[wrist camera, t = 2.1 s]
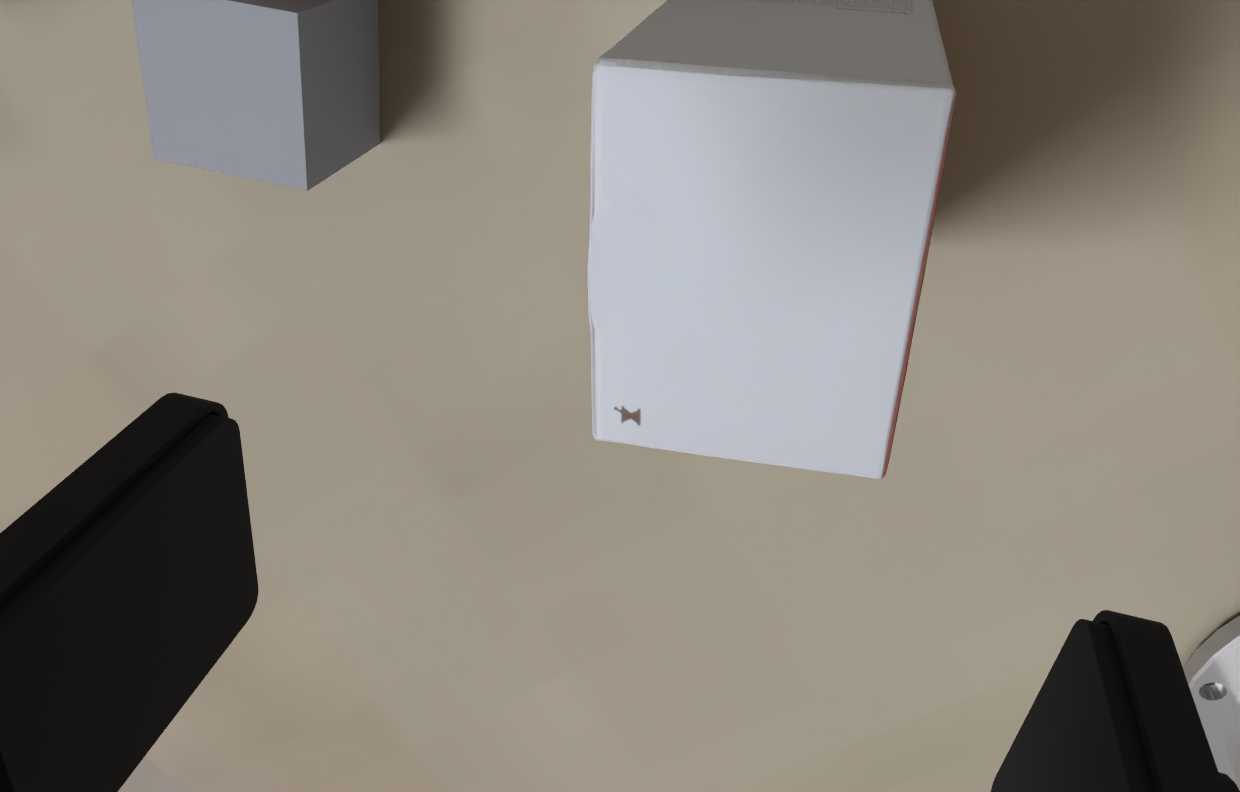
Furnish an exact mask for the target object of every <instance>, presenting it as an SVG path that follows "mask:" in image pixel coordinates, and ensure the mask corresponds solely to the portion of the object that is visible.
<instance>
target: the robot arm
mask: <svg viewBox="0 0 1240 792" xmlns="http://www.w3.org/2000/svg"><path fill="white" fill-rule="evenodd" d="M257 597H258V581H257V573H256V565H255V556H254V548H253V539H252V531H251V523H250V514H249V506H248V498H247V489H246V481H245V473H244V464H243V456H242V447H241V439H240V431H239V427H238V424H237V423H236V421H235V420H233V419H230V418H228V414H227V411H226V409H225V408H224V406H223V405H221V404H219V403H217V402H213V401H208V400H204V399H200V398H195V397H191V396H187V395H183V394H178V393H169V394H166V395H165V396H163V397H161V398H160V399H159V400H158V401H157V402H155V403H154V404H153V405H152V406H151V407H149V408H148V409H147V410H146V411H145V412H143V413H142V414H141V415H140V416H139V417H138V418H136V419H135V420H134V421H133V422H132V423H130V424H129V425H128V426H127V427H126V428H125V429H123V430H122V431H121V432H120V433H119V434H117V435H116V436H115V437H114V438H113V439H112V440H110V441H109V442H108V443H107V444H106V445H104V446H103V447H102V448H101V449H100V450H98V451H97V452H96V453H95V454H94V455H93V456H91V457H90V458H89V459H88V460H87V461H85V462H84V463H83V464H82V465H81V466H80V467H78V468H77V469H76V470H75V471H74V472H72V473H71V474H70V475H69V476H68V477H66V478H65V479H64V480H63V481H62V482H61V483H59V484H58V485H57V486H56V487H55V488H53V489H52V490H51V491H50V492H49V493H48V494H46V495H45V496H44V497H43V498H42V499H40V500H39V501H38V502H37V503H36V504H35V505H33V506H32V507H31V508H30V509H29V510H27V511H26V512H25V513H24V514H23V515H21V516H20V517H19V518H18V519H17V520H16V521H14V522H13V523H12V524H11V525H10V526H8V527H7V528H6V529H5V530H4V531H3V532H1V533H0V792H118V790H119V789H120V788H121V786H122V785H123V784H124V783H125V781H126V780H127V778H128V777H129V776H130V775H131V773H132V772H133V771H134V769H135V768H136V767H137V765H138V764H139V763H140V762H141V760H142V759H143V758H144V756H145V755H146V754H147V752H148V751H149V750H150V748H151V747H152V746H153V744H154V743H155V742H156V741H157V739H158V738H159V737H160V735H161V734H162V733H163V731H164V730H165V729H166V727H167V726H168V725H169V723H170V722H171V721H172V720H173V718H174V717H175V716H176V714H177V713H178V712H179V710H180V709H181V708H182V706H183V705H184V704H185V702H186V701H187V700H188V699H189V697H190V696H191V695H192V693H193V692H194V691H195V689H196V688H197V687H198V685H199V684H200V683H201V681H202V680H203V679H204V678H205V676H206V675H207V674H208V672H209V671H210V670H211V668H212V667H213V666H214V664H215V663H216V662H217V660H218V659H219V658H220V657H221V655H222V654H223V653H224V651H225V650H226V649H227V647H228V646H229V645H230V643H231V642H232V641H233V639H234V638H235V637H236V636H237V634H238V633H239V632H240V630H241V629H242V628H243V626H244V625H245V624H246V622H247V621H248V619H249V618H250V616H251V615H252V612H253V610H254V608H255V605H256V602H257ZM991 792H1240V616H1238V617H1236V618H1235V619H1233V620H1232V621H1230V622H1229V623H1227V624H1226V625H1224V626H1222V627H1221V628H1219V629H1218V630H1217V631H1216V632H1215V633H1214V634H1213V635H1212V636H1210V637H1209V638H1208V639H1207V640H1206V641H1205V642H1204V643H1203V644H1202V645H1201V646H1200V647H1199V648H1198V649H1197V650H1195V652H1194V653H1193V655H1192V656H1191V658H1190V659H1189V661H1188V662H1187V663H1186V665H1185V666H1184V668H1182V665H1181V662H1180V659H1179V656H1178V653H1177V650H1176V647H1175V644H1174V642H1173V639H1172V636H1171V634H1170V632H1169V630H1168V628H1167V627H1166V626H1165V625H1164V624H1162V623H1160V622H1155V621H1151V620H1147V619H1143V618H1138V617H1134V616H1130V615H1125V614H1121V613H1117V612H1113V611H1108V610H1104V611H1101V612H1100V613H1098V614H1097V615H1096V617H1095V618H1094V620H1093V621H1089V620H1085V619H1080V620H1078V621H1077V622H1076V623H1075V625H1074V626H1073V628H1072V630H1071V631H1070V633H1069V635H1068V637H1067V639H1066V641H1065V643H1064V645H1063V647H1062V649H1061V651H1060V653H1059V655H1058V657H1057V659H1056V661H1055V662H1054V664H1053V666H1052V668H1051V670H1050V672H1049V674H1048V676H1047V678H1046V680H1045V682H1044V684H1043V686H1042V688H1041V690H1040V692H1039V694H1038V695H1037V697H1036V699H1035V701H1034V703H1033V705H1032V707H1031V709H1030V711H1029V713H1028V715H1027V717H1026V719H1025V721H1024V723H1023V725H1022V726H1021V728H1020V730H1019V732H1018V734H1017V736H1016V738H1015V740H1014V742H1013V744H1012V746H1011V748H1010V750H1009V752H1008V754H1007V756H1006V758H1005V759H1004V761H1003V763H1002V765H1001V767H1000V769H999V771H998V773H997V775H996V777H995V779H994V782H993V785H992V789H991Z"/></svg>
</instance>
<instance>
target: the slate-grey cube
mask: <svg viewBox="0 0 1240 792" xmlns="http://www.w3.org/2000/svg"><path fill="white" fill-rule="evenodd" d="M132 5H133V13H134V20H135V27H136V34H137V41H138V48H139V55H140V62H141V69H142V77H143V84H144V91H145V98H146V105H147V112H148V119H149V126H150V133H151V141H152V148H153V155H154V159H158V160H162V161H167V162H172V163H177V164H181V165H186V166H191V167H196V168H201V169H205V170H210V171H215V172H220V173H224V174H229V175H234V176H239V177H243V178H248V179H253V180H258V181H263V182H267V183H272V184H277V185H282V186H286V187H291V188H296V189H301V190H305V191H308V190H309V189H311V188H312V187H314V186H315V185H317V184H319V183H320V182H322V181H323V180H325V179H326V178H328V177H329V176H331V175H332V174H334V173H335V172H337V171H339V170H340V169H342V168H343V167H345V166H346V165H348V164H349V163H351V162H352V161H354V160H355V159H357V158H358V157H360V156H362V155H363V154H365V153H366V152H368V151H369V150H371V149H372V148H374V147H375V146H377V145H378V144H380V86H379V16H378V0H132Z"/></svg>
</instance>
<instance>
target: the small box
mask: <svg viewBox="0 0 1240 792" xmlns="http://www.w3.org/2000/svg"><path fill="white" fill-rule="evenodd" d="M956 94H957V91H956V89H955V87H954V85H953V80H952V76H951V73H950V70H949V65H948V61H947V57H946V53H945V49H944V46H943V41H942V38H941V33H940V30H939V26H938V21H937V17H936V14H935V9H934V6H933V1H932V0H667V1H666V2H665V3H664V4H663V5H662V6H661V7H659V8H658V9H656V10H655V11H654V12H653V13H652V14H651V15H649V16H648V17H647V18H646V19H645V20H644V21H643V22H641V23H640V24H639V25H638V26H637V27H636V28H635V29H634V30H632V31H631V32H630V33H629V34H628V35H627V36H625V37H624V38H623V39H622V40H621V41H619V42H618V43H617V44H616V45H615V46H614V47H613V48H611V49H610V50H609V51H607V52H606V53H605V54H603V55H602V56H601V57H599V58H598V59H597V61H596V63H595V64H594V67H593V74H592V104H591V157H590V164H591V180H590V235H589V252H588V313H589V321H590V333H591V384H592V433H593V437H594V438H595V439H596V440H598V441H608V442H617V443H625V444H631V445H637V446H643V447H650V448H656V449H663V450H670V451H677V452H684V453H691V454H698V455H705V456H712V457H720V458H727V459H734V460H741V461H749V462H757V463H764V464H771V465H780V466H787V467H794V468H801V469H808V470H815V471H823V472H831V473H838V474H848V475H855V476H862V477H868V478H875V479H881V478H883V477H884V476H885V474H886V471H887V467H888V463H889V458H890V453H891V448H892V443H893V438H894V433H895V428H896V422H897V417H898V412H899V406H900V401H901V396H902V391H903V386H904V381H905V376H906V371H907V365H908V359H909V354H910V348H911V343H912V337H913V332H914V326H915V321H916V315H917V310H918V305H919V299H920V294H921V289H922V284H923V279H924V274H925V268H926V262H927V256H928V251H929V245H930V239H931V234H932V228H933V222H934V216H935V211H936V205H937V199H938V194H939V189H940V184H941V179H942V175H943V170H944V165H945V159H946V153H947V147H948V141H949V135H950V129H951V124H952V118H953V112H954V106H955V101H956Z"/></svg>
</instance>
